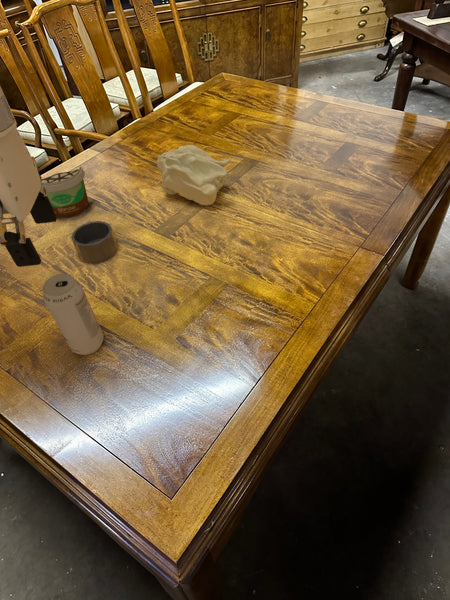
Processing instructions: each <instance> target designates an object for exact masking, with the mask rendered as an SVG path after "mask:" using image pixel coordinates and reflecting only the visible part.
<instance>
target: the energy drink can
mask: <svg viewBox="0 0 450 600" xmlns="http://www.w3.org/2000/svg"><path fill="white" fill-rule="evenodd" d="M42 291H43V293H42V300H43V302H44V304H45V305H46V307H47V310H48V311H49V313H50V314H51V316H52V318H53V320H54V321H55V323H56V326H57V327H58V329H59V330H60V332H61V334H62V336H63V337H64V339H65V341H66V344H67V345H68V347H69V349H70V351H72V352H73V353H74V354H77V355H81V356H88V355H92V354H94V353H96V352H98V350H99V349H100V348H101V347H102V344H103V342H104V332H103V330H102V329H101V326H100V324H99V322H98V319H97V317H96V315H95V313H94V311H93V309H92V306H91V304H90V301H89V299H88V297H87V295H86V292H85V290H84V288H83V286H82V284H81V282H80V281H79V280H77V279H75V278H74V276H73V275H71V274H69V273H57V274H54V275H52V276H50V277H49V278H47V279H46V280H45V281H44V283H43V285H42Z"/></svg>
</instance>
